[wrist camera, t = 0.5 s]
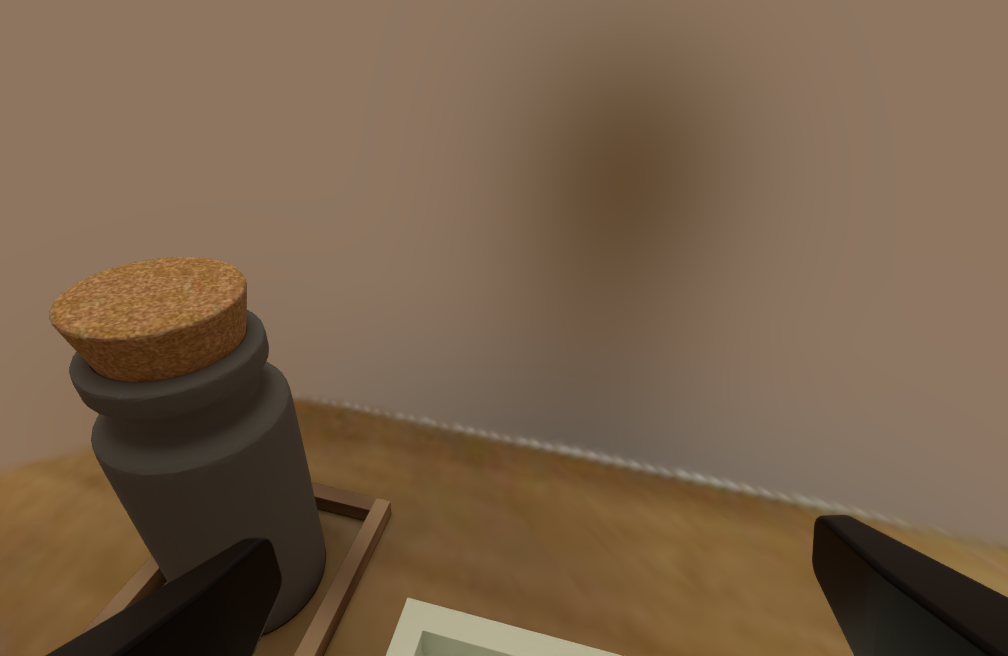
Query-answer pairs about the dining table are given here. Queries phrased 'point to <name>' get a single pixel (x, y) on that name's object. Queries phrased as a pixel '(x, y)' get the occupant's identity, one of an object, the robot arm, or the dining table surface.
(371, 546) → the seat frame
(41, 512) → the dining table surface
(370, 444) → the dining table surface
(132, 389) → the bottle
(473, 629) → the tray
